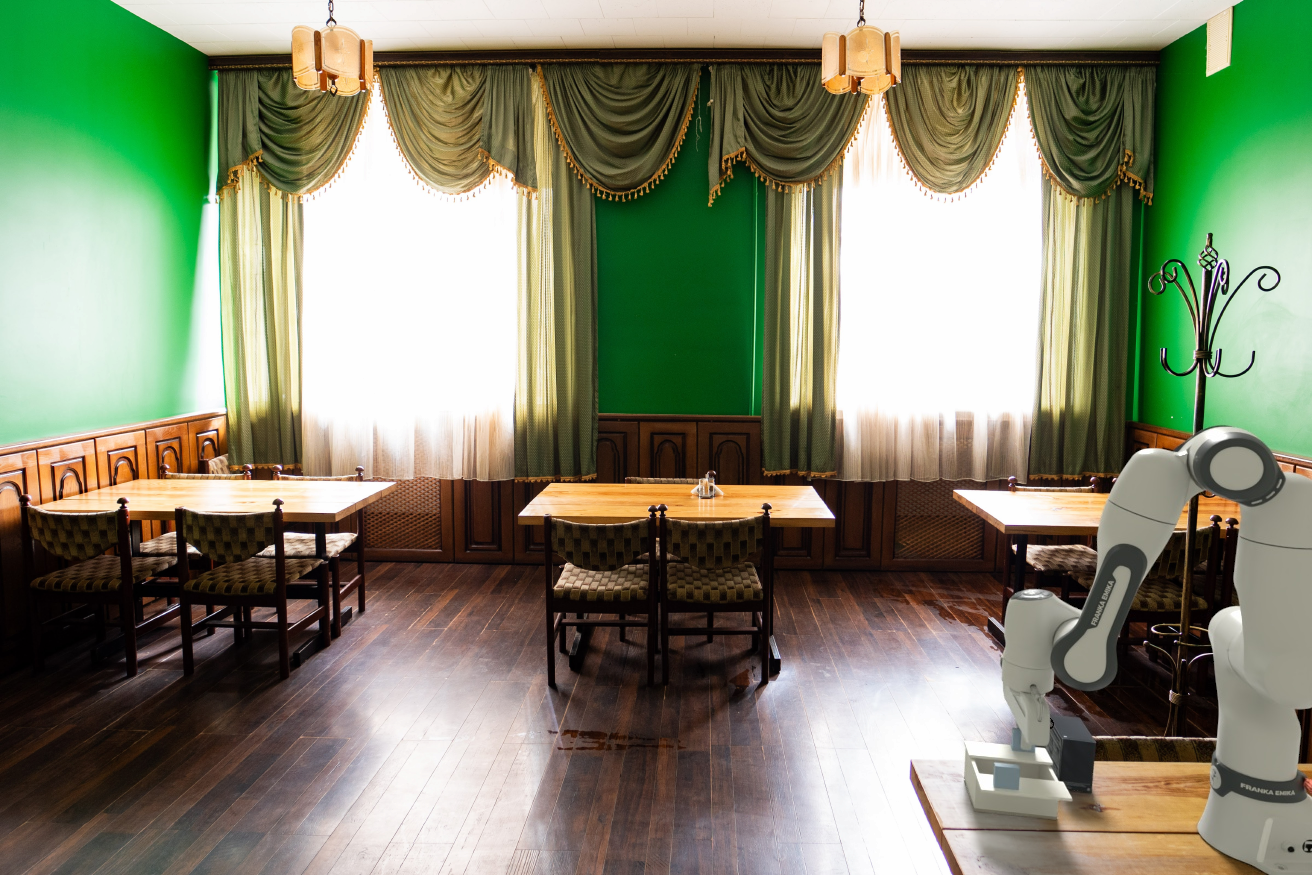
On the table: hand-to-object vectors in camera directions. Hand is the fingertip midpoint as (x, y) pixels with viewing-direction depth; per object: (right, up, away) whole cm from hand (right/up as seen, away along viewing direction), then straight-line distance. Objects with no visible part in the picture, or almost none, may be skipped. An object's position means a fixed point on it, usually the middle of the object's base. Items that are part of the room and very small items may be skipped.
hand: (1023, 744), depth 154 cm
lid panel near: (-6, -3, -12) cm, 13 cm away
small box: (+11, -9, +5) cm, 15 cm away
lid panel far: (-3, -2, 0) cm, 4 cm away
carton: (-4, -9, -2) cm, 10 cm away
